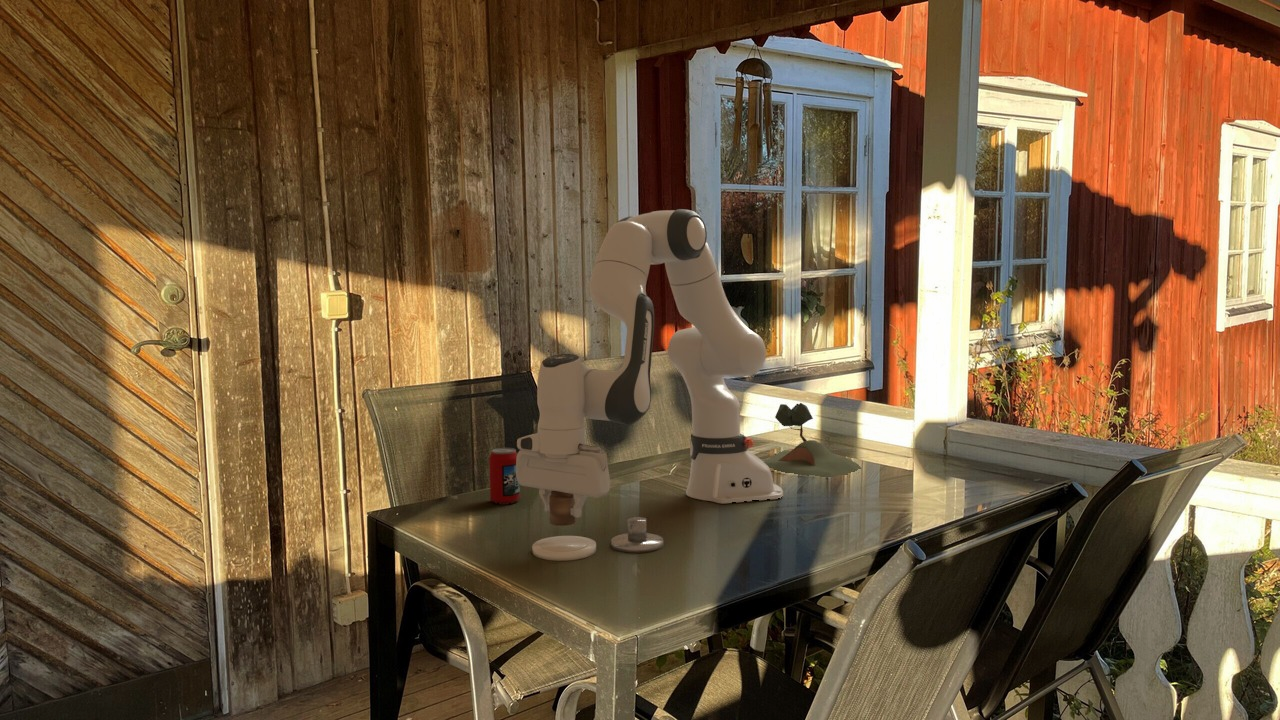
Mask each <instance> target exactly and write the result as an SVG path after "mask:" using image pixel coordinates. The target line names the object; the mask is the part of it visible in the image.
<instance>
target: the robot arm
mask: <svg viewBox="0 0 1280 720" xmlns="http://www.w3.org/2000/svg"><path fill="white" fill-rule="evenodd" d="M707 235H708V232H707V227H706V224H705V222H704V219H703V218H701V216H700V215H699V214H698V213H697V212H696V211H694V210H690V209H682V208H678V209H676V210H675V209H674V210H673V209H671V210H668V209H667V210H656V211H651V212H646V213H641V214H638V215H629V216H627V217H623V218H621V219H620V220H617V222H616V223H613V225H612V226H610V228H609V229H608V231H607V233H606V235H605V238H604V239H603V241H602V244H601V246H600V249H599V251H598V253H597V256H596V259H595V263H594V266H593V270H592V272H591V277H590V281H589V292H590V295H591V298H592V300H593V301H594V303H595V304H596V306H597V307H598V308H599V309H600V310H602V311H603V312H604V313H606V314H607V315H609V316H611V317H612V318H614V319H617V320H618V321H621V322H622V323H624V324H625V327H626V337H625V346H624V347H625V348H624V357H623V358H624V359H623V364H622V366H621V367H620V368H619V369H617V370H608V369H597V368H592V367H590V366H587V365H585V364H584V363H583V362H582V359H581V358H580V356H579V355H577V354H573V353H561V354H553V355H549V356H548V357H546V358H544V359H543V360H542V361H541V363H540V365H539V369H538V375H537V390H536V391H537V394H536V397H537V399H536V400H537V402H536V403H537V406H538V407H537V408H538V411H539V419H538V421H537V422H538V423H537V432H534V433H532V434H528V435H525V436H522V437H519V438H517V441H516V447H517V449H518V450H519V451H518V452H517V459H516V478H517V481H518V483H519V484H520V487H529V488H534V489H538V493H539V494H538V495H539V497H540V499H541V500H542V503H543V505H544V512H545V513H547V514H548V513H549V514H550V508H549V496H550V495H551V491H558V492H564V493H570V494H573V495H574V500H575V505H574V507H571V508H570V516H571V517H575V519H578V518H581V517H582V515H583V514H582V513H583V509H582V507H583V506H584V504H585V503H586V501H587V499H588V497H591V498H595V499H597V498H602V497H604V496H607V495H608V494H609V492H610V491H611V479H610V473H609V472H610V471H609V466H608V455H607V453H606V451H604V449H602V448H601V446H597V445H589V444H586V422H585V419H590V420H598V421H608V422H609V421H610V422H613V423H618V424H623V425H627V426H630V425H634V424H635V423H637V422H638V421H640V419H642V418H643V417H644V416H645V415H646V413H647V412H648V411H649V409H650V406H651V401H652V389H651V388H652V387H651V385H652V384H651V370H652V369H651V368H652V357H653V356H652V355H653V345H654V343H653V342H654V334H655V333H654V332H655V308H654V304H653V301H652V299H651V298H650V297H649V296H648V295H647V291H646V290H647V287H646V286H647V281H648V277H649V273H650V268H651V265H661V264H664V266H665V271H666V275H667V278H668V282H669V286H670V288H671V289H670V290H671V293H672V295H673V299H674V301H675V305H676V308H677V311H678V312H679V315H680V316H681V317H683V318H684V320H686V321H687V322H689V324H691V325H692V326H693V327H688V328H683V329H679V330H677V331H675V332H674V333H673V334H672V336H671V337H670V339H669V342H668V347H667V354H668V358H669V361H670V363H671V365H673V367H675V369H677V371H678V372H679V374H680V375H681V376H682V379H683V381H684V383H685V385H686V387H687V390H688V395H689V398H690V402H691V416H692V417H691V419H692V420H691V421H692V422H691V423H692V426H691V427H692V433H691V434H690V441H689V447H690V448H689V452H690V458H691V465H690V473H689V480H688V484H687V487H686V491H685V495H686V496H687V497H689V498H692V499H695V500H696V499H697V500H700V501H701V500H702V501H708V502H709V501H710V502H714V503H717V504H732V502H736V503H745V502H744V501H747V502H753V501H752V500H759V501H767V499H770V500H779V499H778V498H780V499H782V498H783V497H784V491H783V488H782V487H780V486H779V485H778V484H776V483H774V477H773V472H771V470H770V468H769V467H768V466H767V465H766V464H765V463H764V461H763V460H762V459H760V458H759V457H758V456H757V455H756V454H754V453H753V452H751V451H750V450H749V449H750V448H752V447H753V446H754V444H755V442H754V440H753V439H752V438H751V437H747V436H746V435H743V434H741V404H740V403H741V402H739V399H738V398H737V397H738V396H736V395H735V394H734V393H732V392H731V391H730V389H729V388H728V386H727V384H726V382H725V379H724V377H729V378H731V377H732V378H742V377H748V376H753V375H756V374H758V373H759V372H760V371H761V369H762V368H763V366H764V364H765V361H766V358H767V348H766V344H765V341H764V340H763V338H762V337H761V335H759V334H757V333H756V332H754V331H753V330H752V329H750V328H749V327H748V326H747V325H746V323H744V322H743V321H742V319H741V318H740V316H738V314H737V313H736V312H735V310H734V308H733V307H732V306H731V305H730V302H729V300H728V298H727V296H726V292H725V290H724V288H723V283H722V281H721V278H720V274H719V271H718V268H717V264H716V262H715V259H714V256H713V253H712V250H711V248H710V246H709V244H708V241H707V238H708V237H707ZM782 496H783V497H782ZM781 497H782V498H781Z"/></svg>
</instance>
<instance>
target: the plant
mask: <svg viewBox="0 0 1280 720" xmlns="http://www.w3.org/2000/svg"><path fill="white" fill-rule="evenodd" d="M774 418H775V419H776V420H777V421H778V422H779V424H781V425H782V427H789V428H790V430H795V431H799V437H800V438H801V440H802V442H800V443H799V444H797V446H795V447H794V448H790V449H785V450H781V451H782V452H781V451H779V452H780V453H778V452H777V453H778V454H776V453H775V454H776V455H774V454H772V455H773V456H772V455H770V456H771V457H770V456H769V457H770V459H768V460H767V461H765V460H764V461H765V462H764V461H763V462H764V463H765V464H766V465H767V466H768V467H769V468H773V469H774V470H777V471H781V472H785V473H794V474H801V475H807V476H809V475H815V476H820V477H835V476H838V475H848V473H851V472H855V471H857V470H858V469H861V470H862V467H861V465H860V464H858V463H857V462H853V460H852V459H850V458H848V457H846V456H844V455H843V456H842V455H838V454H836V453H833V452H831V450H830V449H828V447H826V446H825V445H824V444H822V443H821V442H819V441H817V440H814V439H813V440H812V439H811V440H810V439H809V440H807V439H806V438H805V437H804V436H803V432H804V430H803V425H804V424H805V423H807V422H808V421H811V420H813V419H814V418H813V416H812V414H811V412H810V409H809V408H808V405H806V404H804V403H802V402H799V403H796V404H795V405H794V406H793V407H792V408H790V407H789V405H787V404H786V403H785V404H782V403H781V404H780V405H779V407H778V410H777V412H776V414H775V416H774ZM793 426H794V427H800V428H793ZM859 465H860V466H859Z"/></svg>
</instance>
